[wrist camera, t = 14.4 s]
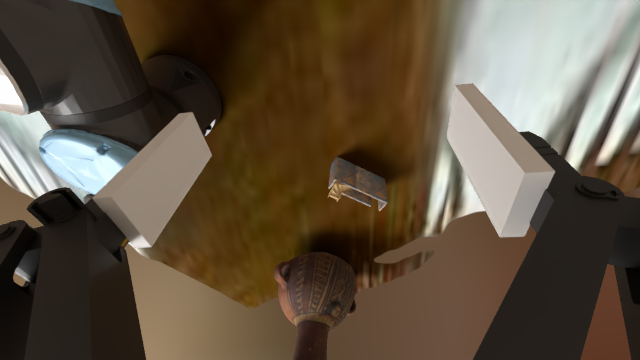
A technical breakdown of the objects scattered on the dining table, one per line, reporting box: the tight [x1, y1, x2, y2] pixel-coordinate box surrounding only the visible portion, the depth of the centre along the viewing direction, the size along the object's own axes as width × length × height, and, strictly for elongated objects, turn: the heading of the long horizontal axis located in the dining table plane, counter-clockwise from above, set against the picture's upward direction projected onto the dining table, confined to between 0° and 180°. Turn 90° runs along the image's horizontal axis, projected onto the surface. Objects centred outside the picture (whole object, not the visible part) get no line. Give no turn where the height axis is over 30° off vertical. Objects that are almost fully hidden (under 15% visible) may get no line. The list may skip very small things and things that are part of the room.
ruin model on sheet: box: [328, 157, 388, 211], centre depth 55 cm, size 11×3×10 cm, turn 64°
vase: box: [274, 252, 356, 360], centre depth 67 cm, size 25×20×30 cm
